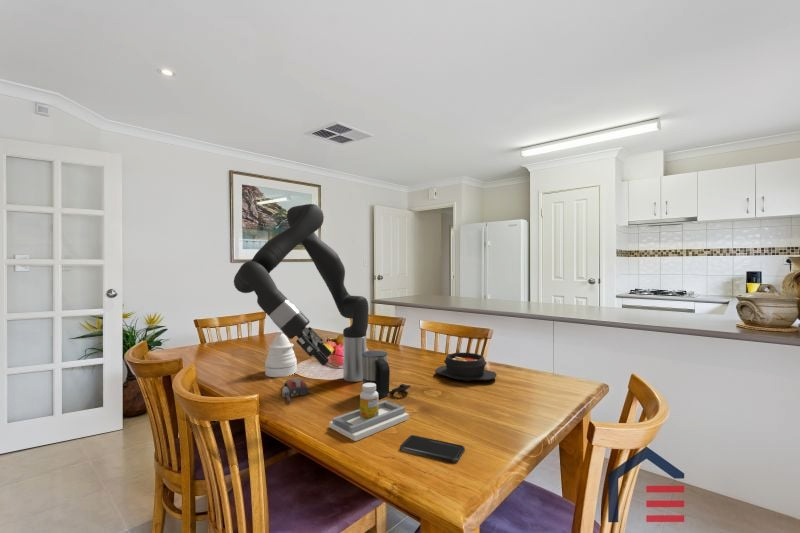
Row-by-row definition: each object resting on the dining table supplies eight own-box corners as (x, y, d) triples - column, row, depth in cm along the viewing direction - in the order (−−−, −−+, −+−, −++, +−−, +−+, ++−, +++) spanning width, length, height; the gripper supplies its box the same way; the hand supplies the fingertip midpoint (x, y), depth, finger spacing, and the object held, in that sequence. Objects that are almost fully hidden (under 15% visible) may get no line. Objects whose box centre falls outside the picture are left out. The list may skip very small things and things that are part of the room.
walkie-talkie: (278, 388, 144) (286, 406, 126) (278, 376, 144) (286, 393, 126) (302, 385, 148) (313, 402, 129) (302, 373, 148) (313, 389, 129)
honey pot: (291, 377, 156) (291, 333, 156) (260, 377, 156) (260, 333, 156) (300, 368, 169) (300, 327, 169) (271, 368, 169) (271, 327, 169)
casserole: (501, 375, 158) (501, 354, 158) (490, 388, 142) (490, 365, 141) (444, 367, 170) (444, 348, 169) (427, 379, 153) (427, 358, 153)
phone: (456, 460, 89) (398, 447, 95) (456, 465, 89) (398, 451, 95) (466, 446, 96) (411, 434, 102) (466, 450, 96) (411, 438, 103)
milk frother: (356, 394, 135) (356, 353, 135) (388, 384, 147) (388, 345, 146) (384, 405, 125) (384, 360, 125) (416, 393, 137) (415, 351, 137)
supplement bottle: (357, 416, 113) (357, 383, 113) (374, 413, 115) (374, 380, 115) (363, 423, 108) (363, 388, 108) (381, 420, 110) (381, 386, 110)
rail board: (382, 408, 123) (382, 398, 123) (408, 419, 114) (408, 409, 114) (329, 427, 109) (329, 416, 109) (355, 441, 100) (355, 429, 100)
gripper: (294, 313, 104) (335, 356, 105) (303, 307, 118) (339, 344, 119) (273, 332, 103) (315, 375, 105) (284, 323, 118) (321, 361, 119)
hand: (327, 359), depth 112 cm, fingers open, 8 cm apart
